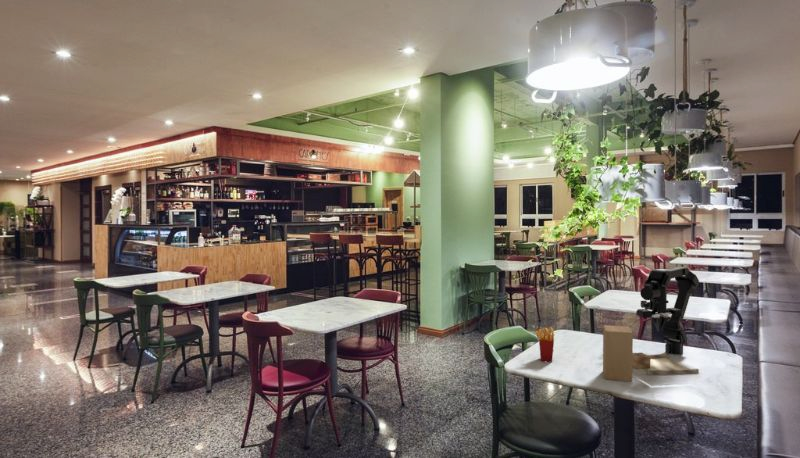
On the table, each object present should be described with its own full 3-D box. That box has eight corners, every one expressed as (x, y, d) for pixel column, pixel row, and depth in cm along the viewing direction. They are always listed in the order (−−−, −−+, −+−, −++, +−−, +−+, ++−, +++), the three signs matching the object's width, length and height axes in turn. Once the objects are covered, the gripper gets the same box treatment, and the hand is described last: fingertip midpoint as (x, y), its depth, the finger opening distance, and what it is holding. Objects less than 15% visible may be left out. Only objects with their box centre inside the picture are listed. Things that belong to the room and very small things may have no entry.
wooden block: (628, 373, 192) (629, 326, 191) (632, 382, 182) (632, 332, 181) (602, 371, 195) (603, 324, 194) (605, 379, 186) (605, 330, 185)
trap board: (666, 358, 209) (666, 354, 209) (698, 374, 189) (698, 369, 189) (620, 360, 208) (620, 355, 207) (647, 377, 188) (647, 371, 188)
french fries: (554, 363, 205) (554, 330, 205) (535, 361, 208) (535, 328, 207) (554, 357, 214) (554, 325, 213) (535, 355, 216) (535, 324, 216)
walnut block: (641, 363, 201) (641, 352, 201) (650, 368, 195) (650, 357, 195) (628, 364, 201) (628, 353, 200) (636, 369, 195) (636, 357, 194)
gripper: (667, 293, 216) (666, 326, 217) (629, 294, 215) (629, 327, 215) (683, 298, 205) (683, 332, 206) (643, 299, 204) (643, 334, 204)
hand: (659, 331), depth 208 cm, fingers closed
